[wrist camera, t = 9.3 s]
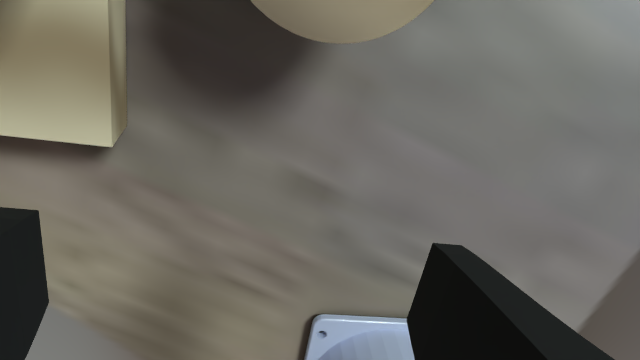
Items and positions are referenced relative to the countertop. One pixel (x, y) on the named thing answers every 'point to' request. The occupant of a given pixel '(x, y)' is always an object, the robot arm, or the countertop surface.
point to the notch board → (63, 70)
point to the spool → (341, 17)
